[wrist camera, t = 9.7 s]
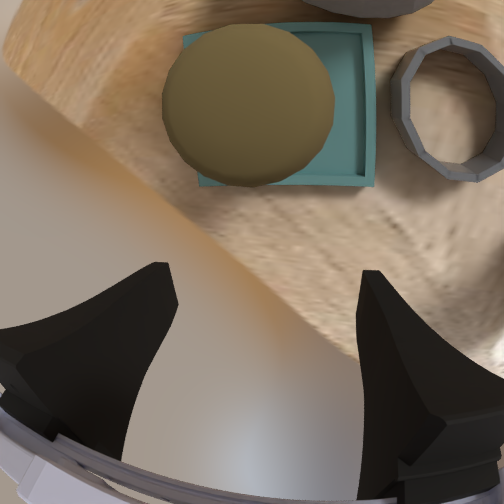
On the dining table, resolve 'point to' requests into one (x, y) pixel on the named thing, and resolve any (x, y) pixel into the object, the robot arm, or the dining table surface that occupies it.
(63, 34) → the dining table surface
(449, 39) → the ring
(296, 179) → the tray
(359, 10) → the coffee pot
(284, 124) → the cork
